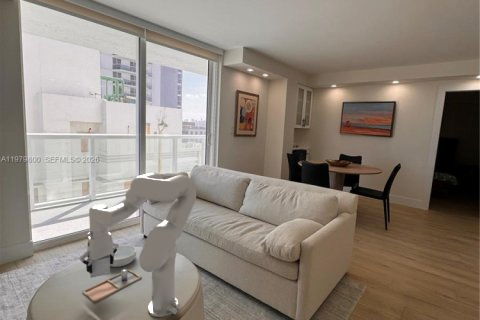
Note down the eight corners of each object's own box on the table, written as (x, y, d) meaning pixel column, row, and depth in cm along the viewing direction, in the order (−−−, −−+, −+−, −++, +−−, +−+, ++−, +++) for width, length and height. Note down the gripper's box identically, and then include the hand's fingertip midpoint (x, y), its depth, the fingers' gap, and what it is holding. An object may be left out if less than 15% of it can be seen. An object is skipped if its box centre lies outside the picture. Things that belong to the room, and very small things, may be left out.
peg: (128, 279, 127) (128, 270, 126) (123, 282, 125) (123, 272, 124) (125, 277, 128) (125, 268, 128) (120, 279, 126) (120, 270, 126)
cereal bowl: (128, 272, 135) (127, 260, 134) (97, 271, 135) (97, 258, 135) (141, 256, 152) (141, 245, 151) (114, 255, 152) (113, 244, 151)
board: (142, 281, 128) (142, 277, 128) (95, 306, 109) (95, 302, 109) (128, 272, 135) (128, 268, 135) (81, 294, 116) (81, 290, 116)
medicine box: (109, 269, 121) (109, 252, 119) (109, 274, 117) (110, 257, 115) (90, 272, 117) (90, 255, 115) (90, 278, 113) (90, 260, 112)
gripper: (82, 241, 105) (84, 279, 107) (122, 228, 119) (123, 262, 121) (74, 236, 109) (76, 273, 111) (113, 224, 123) (114, 257, 125)
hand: (100, 267), depth 116 cm, fingers closed on medicine box, 9 cm apart
